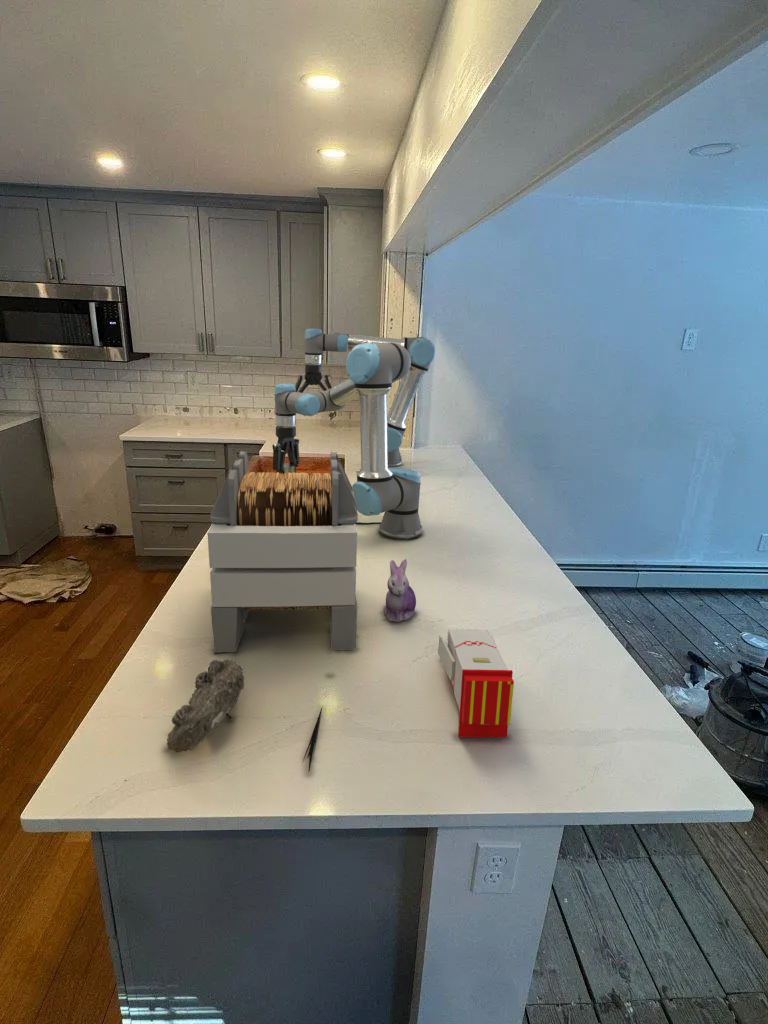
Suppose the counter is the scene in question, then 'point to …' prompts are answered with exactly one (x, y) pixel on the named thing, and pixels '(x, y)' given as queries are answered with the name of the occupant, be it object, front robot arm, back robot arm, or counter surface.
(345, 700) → the counter surface
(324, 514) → the file storage bin
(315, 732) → the feather
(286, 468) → the tin
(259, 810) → the counter surface
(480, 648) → the toy
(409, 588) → the figurine
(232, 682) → the fossil
